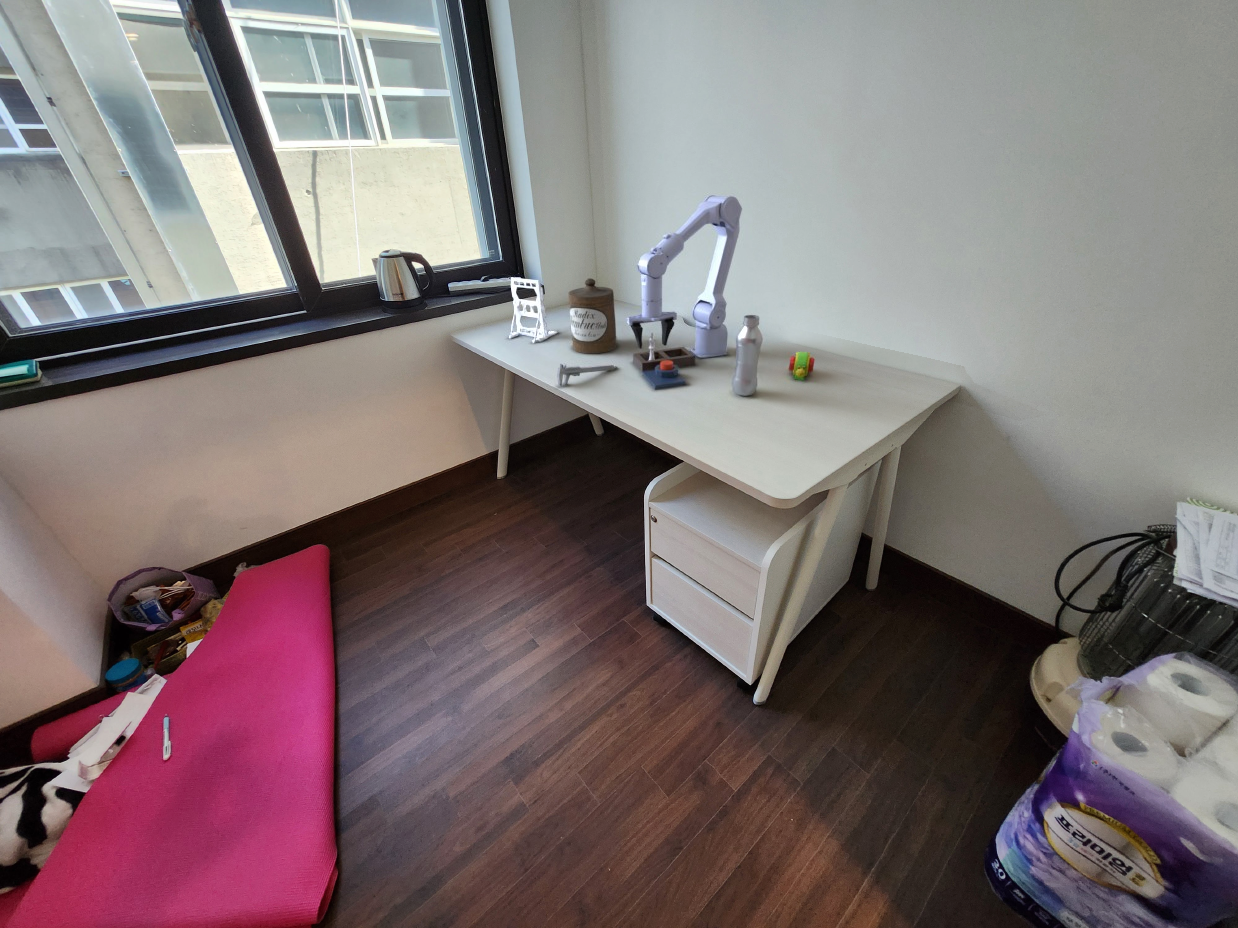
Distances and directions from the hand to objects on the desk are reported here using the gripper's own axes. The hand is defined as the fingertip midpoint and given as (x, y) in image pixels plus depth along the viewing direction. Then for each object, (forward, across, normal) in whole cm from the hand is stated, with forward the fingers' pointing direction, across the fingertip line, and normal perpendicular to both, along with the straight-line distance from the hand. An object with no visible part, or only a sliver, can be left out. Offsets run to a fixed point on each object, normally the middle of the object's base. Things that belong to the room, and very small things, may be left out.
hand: (652, 346), depth 143 cm
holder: (+6, +4, 0) cm, 7 cm away
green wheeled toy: (+6, +39, -19) cm, 44 cm away
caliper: (+6, -20, -2) cm, 21 cm away
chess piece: (+6, 0, 0) cm, 6 cm away
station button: (+3, +1, -11) cm, 11 cm away
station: (+6, -1, -12) cm, 13 cm away
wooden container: (+6, -12, +24) cm, 28 cm away
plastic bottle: (+6, +16, -28) cm, 33 cm away
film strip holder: (+6, -30, +45) cm, 55 cm away
